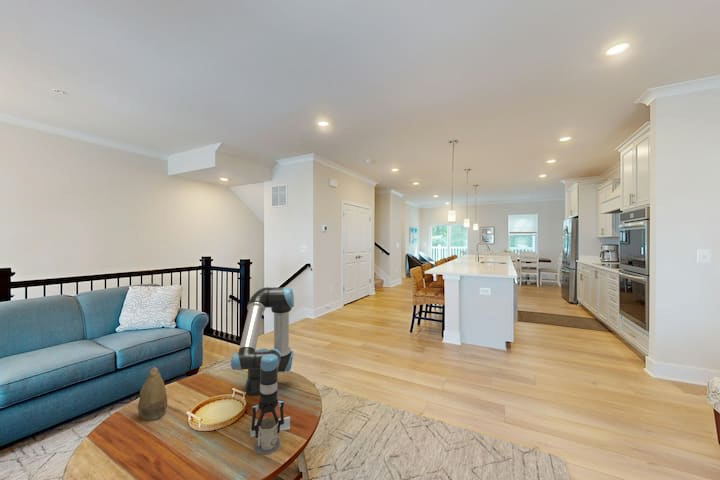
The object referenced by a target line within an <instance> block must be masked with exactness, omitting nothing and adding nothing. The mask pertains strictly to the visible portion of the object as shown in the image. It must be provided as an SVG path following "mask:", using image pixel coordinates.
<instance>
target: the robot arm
mask: <svg viewBox="0 0 720 480" xmlns="http://www.w3.org/2000/svg"><path fill="white" fill-rule="evenodd" d="M294 307H295V297H294V291H293V289H292V288H291V287H285V286H283V287H282V286H281V287H280V286H279V287H267V286H266V287H263V288H260V289H258V290H257V291H255V293H254V294H253V295H252V296H251V297H250V299H249V301H248V302H247V307H246V308H247V309H246V310H247V314H246V319H245V323H244V328H243V332H242V337H241V340H240V345H239V348H238V352H234V353H233V354H232V356H231V358H230V359H231V360H230V367H231V369H232V370H235V371H242V370H244V371H245V370H246V371H247V379H246V381H245V384H244V387H243V388H244V389H243V392H244V393H245V392H246V394H245V395H247V396H250V397H251V396H252V397H253V396H254V397H256V396H259V402H258V404H256V405H253V404H252V409H251V411H252V417H251V418H252V419H251V423H250V431H251V430H252V431H253V430H255V437H254V438H255V439H257V441H258V446H260V433H259V427H260V425H261V422H262V420H264V416H265V414H267V413H272V415H273V418H274V419H275V421H276V424H277V423H278V429H277V434H280V432H281V431H280V425H283V424H284V418H285V416H284V406H285V402H284V399H282V400H278V376H279V373H286V372H290V371H291V370H292V363H293V359H294V358H293V357H294V351H293V350H292V348H291V347H290V346H289V343H290V342H289V341H290V337H289V336H290V335H289V333H290V332H289V329H290V328H289V327H290V326H289V325H290V324H289V323H290V320H289V319H290V317H289V316H290V312H291V311H292V309H293V308H294ZM266 308H271V310H270V311H271V312H272V313H273V348H271V349H268V348H259V349H256V347H257V342H258V337H259V332H260V329H261V328H260V327H261V323H262V317H263V313H264V312H265V311H266ZM277 406H278V407H279V414H280V415H279V416H280V418H281V420H280V421H279V419H280V418H279V417H278V414H277V411H276V407H277ZM258 409H259V410H260V413H259V416H258V419H257V422H256V418H257V417H256V416H257V412H258ZM255 423H257V424H256V426H255ZM275 426H276V425H275ZM277 438H278V436H277V437H276V442H277Z"/></svg>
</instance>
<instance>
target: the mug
mask: <svg viewBox="0 0 720 480" xmlns="http://www.w3.org/2000/svg"><path fill="white" fill-rule="evenodd" d="M275 425H276V426H275ZM255 426H256V425H255ZM277 429H278V423H277V424H276V421H275V419H274V417H265V418H263V419H262V422H261V425H260V427H259V433H260V441H261V447H262V449H263V450H271V449H273V448H274V447H275V445H276V437H277V438H278V433H277Z"/></svg>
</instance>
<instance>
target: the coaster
mask: <svg viewBox="0 0 720 480" xmlns="http://www.w3.org/2000/svg"><path fill="white" fill-rule="evenodd" d="M280 446H281V441H280V439H279V437H277V442H276V445H275V447H274V448H273V449H271V450H263V449H262V447H261V441H260V446H258V440H257V441H256V442H255V444H254V446H253V450H254V452H256V454H258V455H262V456H263V455H265V456H266V455H268V454H269V455H270V454H272V453H274V452H275V451H277V450H278V449H279V447H280Z"/></svg>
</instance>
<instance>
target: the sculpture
mask: <svg viewBox="0 0 720 480" xmlns="http://www.w3.org/2000/svg"><path fill="white" fill-rule="evenodd" d="M167 396H168V395H167V390H166V385H165V382H164V379H163V378H162V375H161V373H160V371H159V369H158V367H155V366H154V367H152V368H151V369H150V371H149V372H148V374H147V376H146V379H145V381H144V383H143V385H142V387H141V388H140V391H139V400H138V404H137V405H138V406H137V410H138V412H139V413H138V414H139V416H140V418H142V419H144V420H149V421H150V420H160V419H161V418H162V417H164V415H165V414H166V410H167V407H168V397H167Z"/></svg>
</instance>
